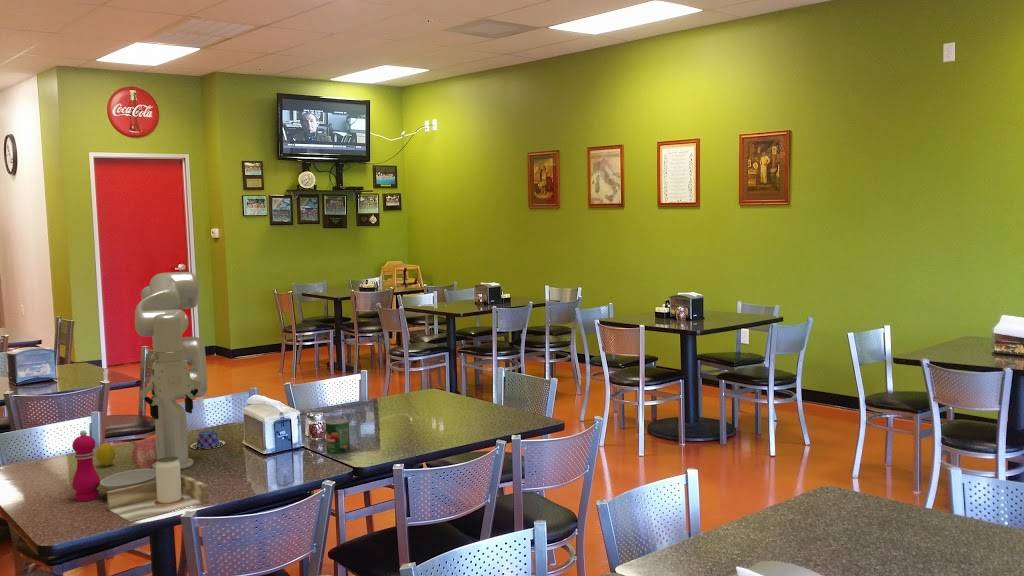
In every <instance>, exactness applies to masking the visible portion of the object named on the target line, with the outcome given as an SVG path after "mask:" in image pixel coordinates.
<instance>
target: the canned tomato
mask: <svg viewBox="0 0 1024 576" xmlns="http://www.w3.org/2000/svg"><path fill="white" fill-rule="evenodd" d="M349 421H350V420H349V419H348V418H331V419H328V420H327V419H326V421H325V423H324V424H325V439H326V440H325V441H326V443H325V444H326V454H327V455H329V456H334V455H337V456H343V455H342V454H345V455H348V454H350V453H351V447H350V446H351V445H350V444H351V443H350V422H349ZM349 452H350V453H349ZM347 453H348V454H347Z"/></svg>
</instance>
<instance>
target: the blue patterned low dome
mask: <svg viewBox="0 0 1024 576" xmlns="http://www.w3.org/2000/svg"><path fill="white" fill-rule="evenodd" d="M218 437H219V436H218V434H217V432H216V431H215V430H204V431H200V432H199V433H198V436H197V439H196V440H197V441H196V442H195V443H192V444H191V445H190V446H189V447H190V448H192V449H195V450H197V449H196V448H193V447H192V446H193V445H195V444H197V445H196V447H200V448H205V450H209V449H210V450H211V448H210V447H213V449H215V448H219V447H222V446H224V445H225V444H226V441H224V440H219V438H218ZM219 442H222V443H223V445H221V446H220V445H219V444H220V443H219ZM214 446H217V447H214ZM200 448H199V449H200Z"/></svg>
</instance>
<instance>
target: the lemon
mask: <svg viewBox="0 0 1024 576" xmlns="http://www.w3.org/2000/svg"><path fill="white" fill-rule="evenodd" d="M115 457H116V451H115V447H114V446H113V445H112V444H110V443H108V442H104V443H101V444H100V445H99V447H97V450H96V460H97V461H98V463H99V464H101V465H103V466H105V467H108V466H109V465H110V464H112V463H113V462H114V460H115V459H116V458H115Z"/></svg>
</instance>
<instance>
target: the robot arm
mask: <svg viewBox="0 0 1024 576" xmlns="http://www.w3.org/2000/svg"><path fill="white" fill-rule="evenodd" d="M140 296H141V297H140V298H141V301H140V302H139V301H138V302H139V303H138V304H137V306H136V308H135V311H134V328H135V331H136V333H137V334H138V335H139V336H140V337H144V338H145V337H146V338H149V337H150V338H151V337H152V354H150V355H149V359H150V360H151V361H153V360H154V362H152V366H151V367H152V368H151V373H150V374H151V375H150V376H151V378H150V381H149V384H148V385H146V387H144V388H143V389H141V390H140V391H139V393H138V394H139V395H140V397H141V398H142V399H143V401H144V402H146V403H147V404H148V405H149V411H150V413H149V414H150V416H151V418H152V419H154V424H155V425H154V426H155V446H156V461H155V462H154V463H152V464H151V467H152V468H151V469H156V464H157V460H158V459H160V458H164V457H177V458H178V461H179V463H180V470H184V469H186V468H190V467H192V466H193V465H194V460H193V458H190V457H189V449H188V447H189V446H188V428H187V427H188V426H187V413H188V414H192V413H193V409H194V399H196V398H201V397H204V396H206V394H207V393H208V387H209V385H208V384H209V383H208V372H207V371H208V370H207V369H208V368H207V359H206V348H205V344H204V342H203V340H202V339H201V338H200V337H198V336H184V337H183V335H184V333H185V332H186V330H187V329H188V326H189V317H188V314H186V312H185V311H184V310H188V309H194V308H196V307H197V305H198V304H199V300H200V282H199V279H198V277H197V275H196V274H195V273H194V272H190V271H176V272H175V271H173V272H161V273H157V274H155V275H154V276H152V277H151V279H150V282H149V285H148V286H145V287H144V288H143V289H142V290H141V293H140ZM190 367H191V368H190ZM149 392H150V393H151V397H149V396H148V393H149ZM183 399H184V407H183V406H182V404H180V402H178V400H183Z"/></svg>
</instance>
